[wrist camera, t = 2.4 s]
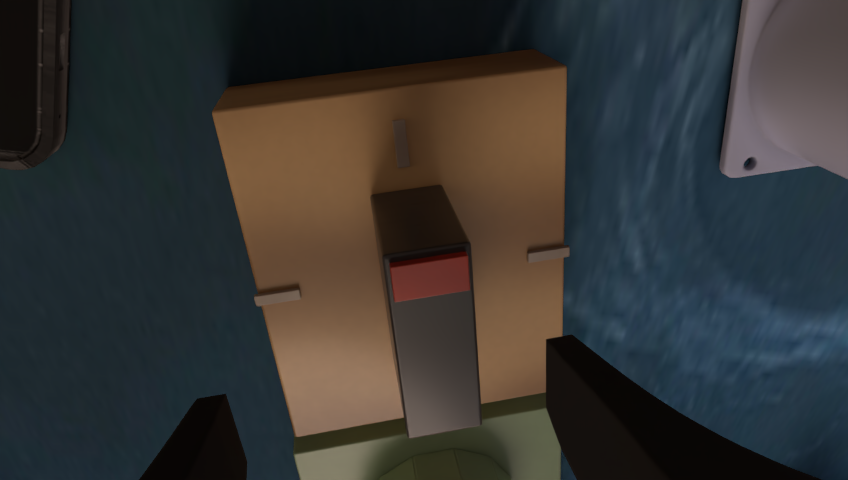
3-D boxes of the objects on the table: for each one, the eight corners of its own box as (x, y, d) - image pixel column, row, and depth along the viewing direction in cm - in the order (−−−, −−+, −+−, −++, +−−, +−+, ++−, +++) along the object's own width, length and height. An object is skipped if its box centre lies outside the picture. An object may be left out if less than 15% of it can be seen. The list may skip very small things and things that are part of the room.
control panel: (539, 342, 25) (566, 392, 23) (295, 384, 24) (291, 442, 22) (537, 47, 20) (573, 65, 17) (222, 87, 19) (205, 113, 16)
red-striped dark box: (455, 343, 21) (485, 432, 17) (392, 354, 21) (408, 447, 17) (442, 183, 18) (473, 247, 14) (369, 193, 18) (382, 260, 14)
